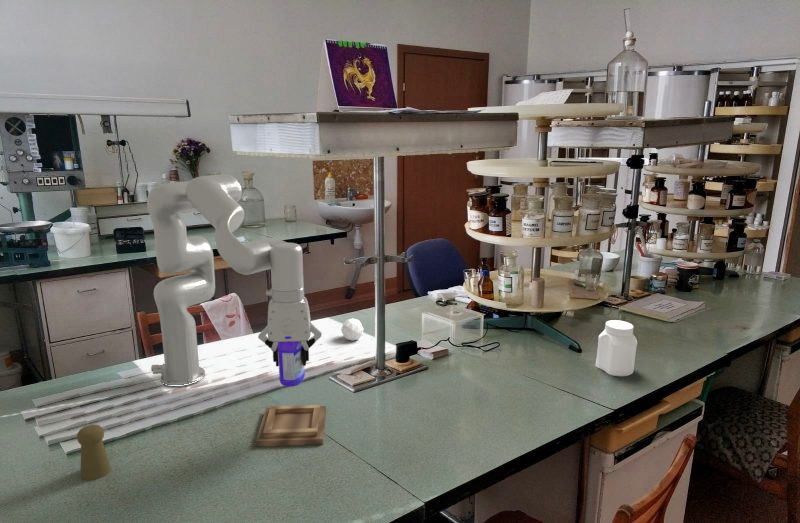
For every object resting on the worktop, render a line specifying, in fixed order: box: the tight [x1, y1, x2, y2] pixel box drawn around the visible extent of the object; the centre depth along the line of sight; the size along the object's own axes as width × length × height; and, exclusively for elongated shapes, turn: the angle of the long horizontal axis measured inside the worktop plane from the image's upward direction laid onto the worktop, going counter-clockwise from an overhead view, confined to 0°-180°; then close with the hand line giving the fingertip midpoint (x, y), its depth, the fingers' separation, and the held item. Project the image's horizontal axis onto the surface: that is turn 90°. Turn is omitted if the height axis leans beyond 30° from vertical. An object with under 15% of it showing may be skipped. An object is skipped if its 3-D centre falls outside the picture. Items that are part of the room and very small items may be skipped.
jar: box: [595, 319, 638, 377], centre depth 180 cm, size 12×10×15 cm
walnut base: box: [255, 404, 327, 447], centre depth 145 cm, size 16×16×3 cm
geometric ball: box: [341, 317, 365, 342], centre depth 201 cm, size 8×8×8 cm
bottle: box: [277, 336, 306, 387], centre depth 140 cm, size 7×6×17 cm
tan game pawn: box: [76, 424, 112, 481], centre depth 125 cm, size 6×6×11 cm
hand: (291, 363), depth 141 cm, fingers closed on bottle, 5 cm apart
